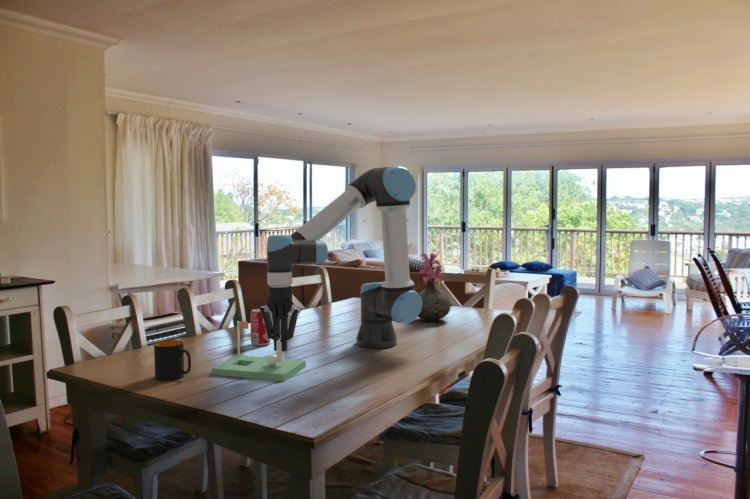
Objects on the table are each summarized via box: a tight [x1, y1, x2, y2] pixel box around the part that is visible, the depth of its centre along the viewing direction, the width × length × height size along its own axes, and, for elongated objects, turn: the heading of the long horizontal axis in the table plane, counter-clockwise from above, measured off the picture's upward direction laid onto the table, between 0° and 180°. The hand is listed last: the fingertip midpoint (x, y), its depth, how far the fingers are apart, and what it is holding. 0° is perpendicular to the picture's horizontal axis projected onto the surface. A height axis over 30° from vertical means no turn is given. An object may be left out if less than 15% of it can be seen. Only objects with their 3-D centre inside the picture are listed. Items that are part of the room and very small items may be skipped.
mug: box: [153, 339, 192, 382], centre depth 174 cm, size 8×12×10 cm
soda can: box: [249, 308, 271, 347], centre depth 215 cm, size 7×7×13 cm
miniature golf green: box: [211, 320, 307, 382], centre depth 181 cm, size 24×16×14 cm, turn 74°
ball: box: [266, 353, 278, 366], centre depth 180 cm, size 4×4×4 cm
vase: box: [415, 252, 451, 323], centre depth 258 cm, size 17×18×30 cm
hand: (280, 361), depth 179 cm, fingers closed
